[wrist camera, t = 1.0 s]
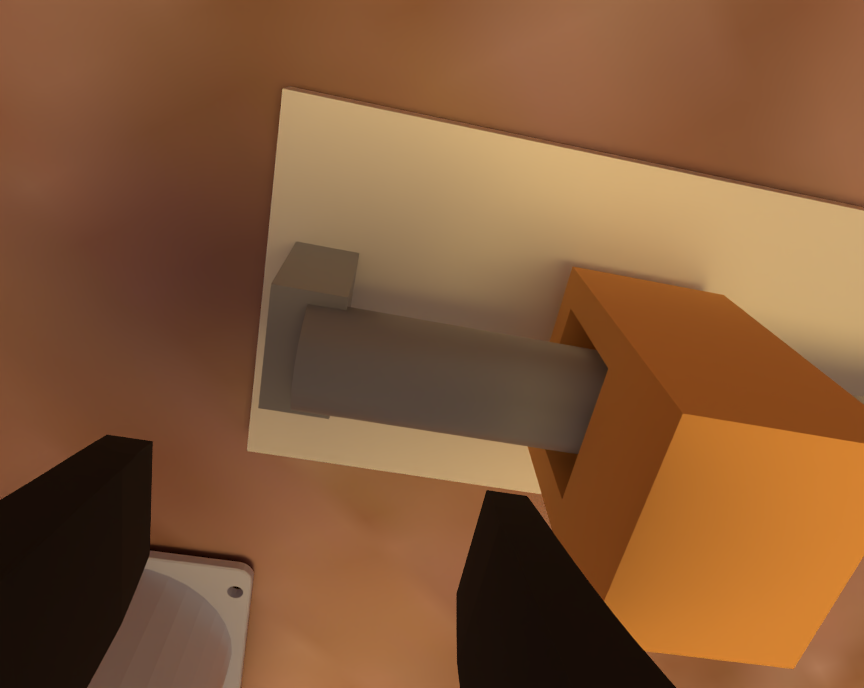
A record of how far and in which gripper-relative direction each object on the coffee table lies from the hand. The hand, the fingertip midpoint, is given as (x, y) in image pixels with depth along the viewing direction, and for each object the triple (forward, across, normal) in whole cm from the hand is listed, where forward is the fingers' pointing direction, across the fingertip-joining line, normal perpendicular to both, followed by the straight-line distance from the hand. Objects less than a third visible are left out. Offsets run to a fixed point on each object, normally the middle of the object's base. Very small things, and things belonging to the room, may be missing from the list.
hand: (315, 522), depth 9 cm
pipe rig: (+9, -11, 0) cm, 14 cm away
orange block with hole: (+8, -7, 0) cm, 10 cm away
